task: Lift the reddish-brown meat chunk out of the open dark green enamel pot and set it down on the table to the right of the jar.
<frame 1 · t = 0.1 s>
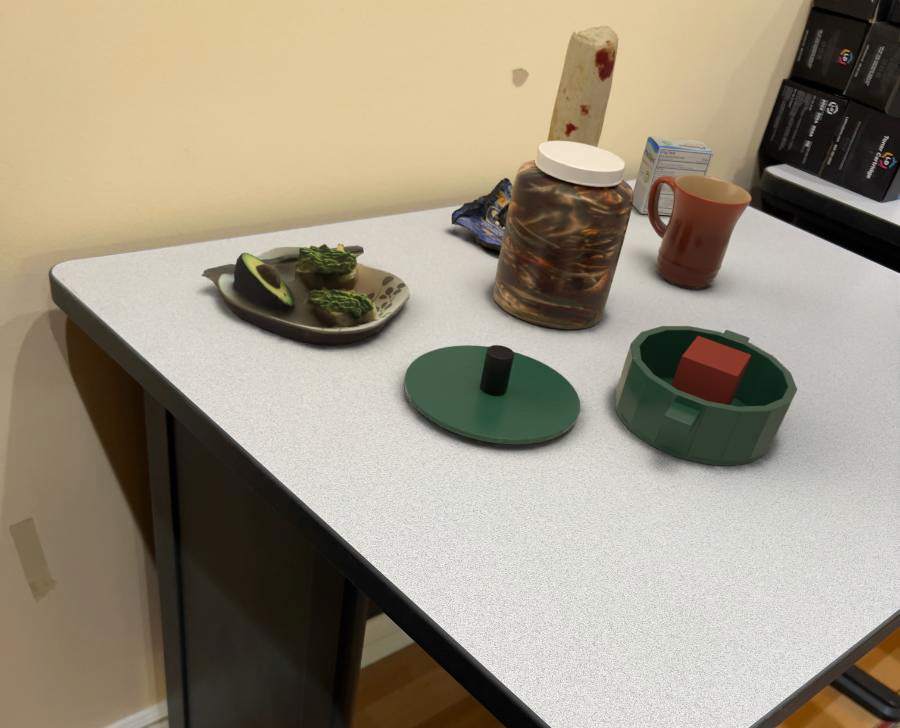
mug: (672, 274, 107), on the table
medicine box: (660, 211, 122), on the table
pot lid: (492, 394, 78), point 1 cm above the table
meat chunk: (694, 414, 81), resting on pot
jar: (547, 306, 95), on the table
plate of avocado toast: (310, 304, 87), on the table
food model: (559, 199, 120), on the table
pot: (692, 419, 81), on the table
snack package: (499, 237, 107), on the table
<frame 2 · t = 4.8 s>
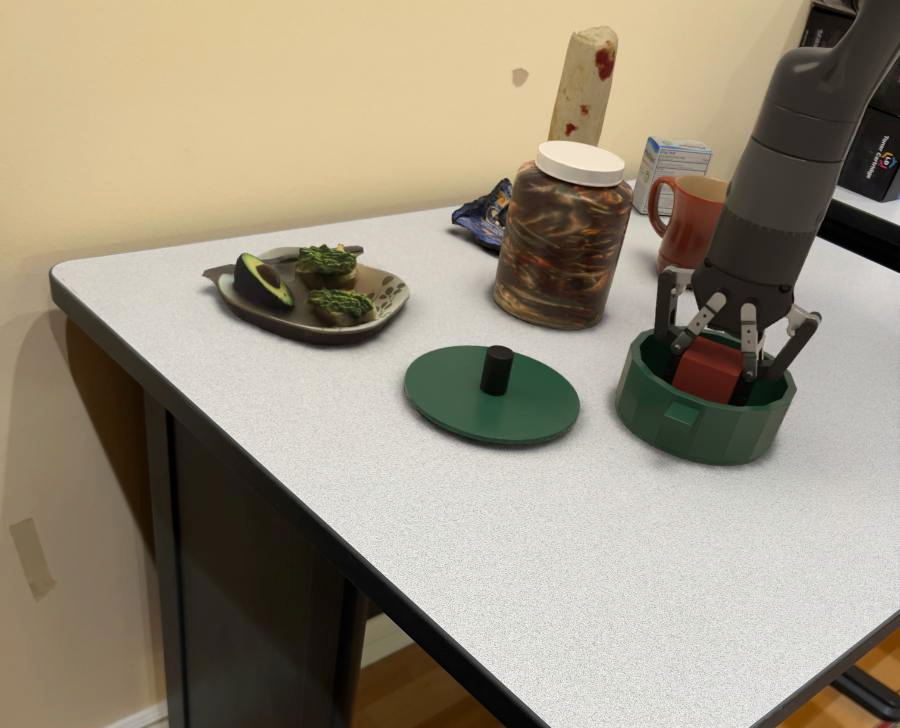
hand: (699, 399, 80), 2 cm above the table, tool pointing down, fingers closed on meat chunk, 5 cm apart
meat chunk: (694, 414, 81), resting on pot, touching gripper
everything else where it was.
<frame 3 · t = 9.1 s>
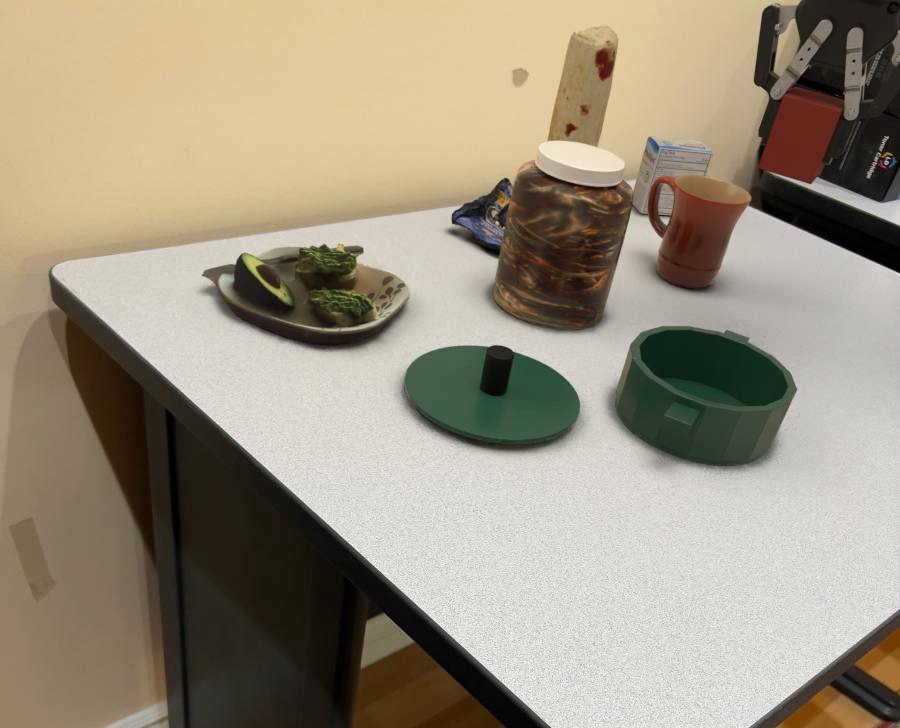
hand: (796, 152, 81), 19 cm above the table, tool pointing down, fingers closed on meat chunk, 5 cm apart
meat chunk: (789, 170, 82), point 18 cm above the table, touching gripper
everything else where it was.
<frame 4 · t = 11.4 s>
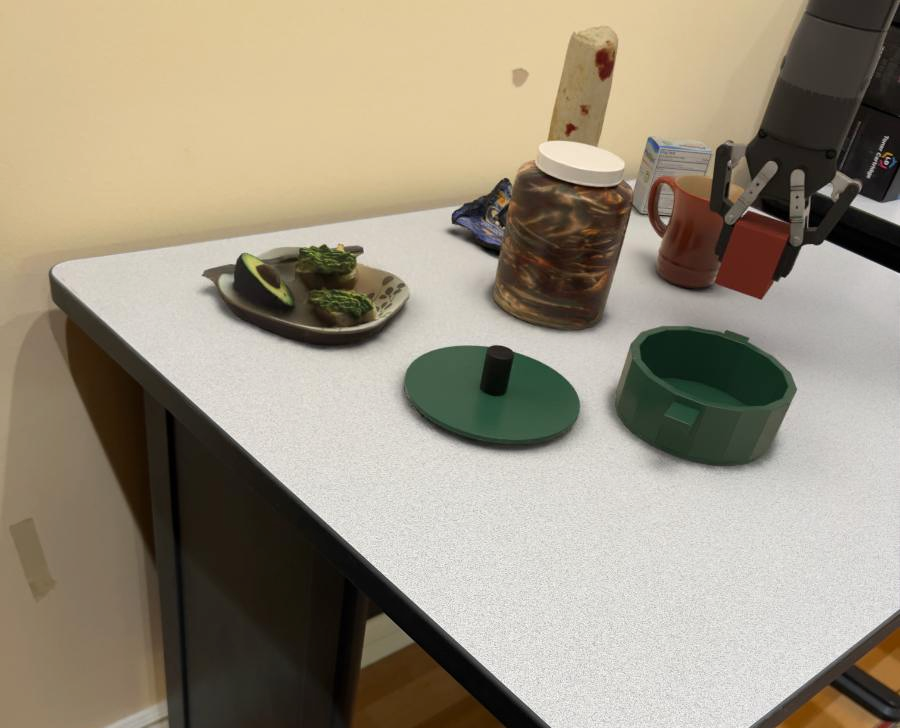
hand: (749, 269, 89), 8 cm above the table, tool pointing down, fingers closed on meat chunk, 5 cm apart
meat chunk: (743, 284, 90), point 6 cm above the table, touching gripper
everything else where it was.
when the fingers open (2 cm above the table, at t = 13.3 s): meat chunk stays where it is, on the table.
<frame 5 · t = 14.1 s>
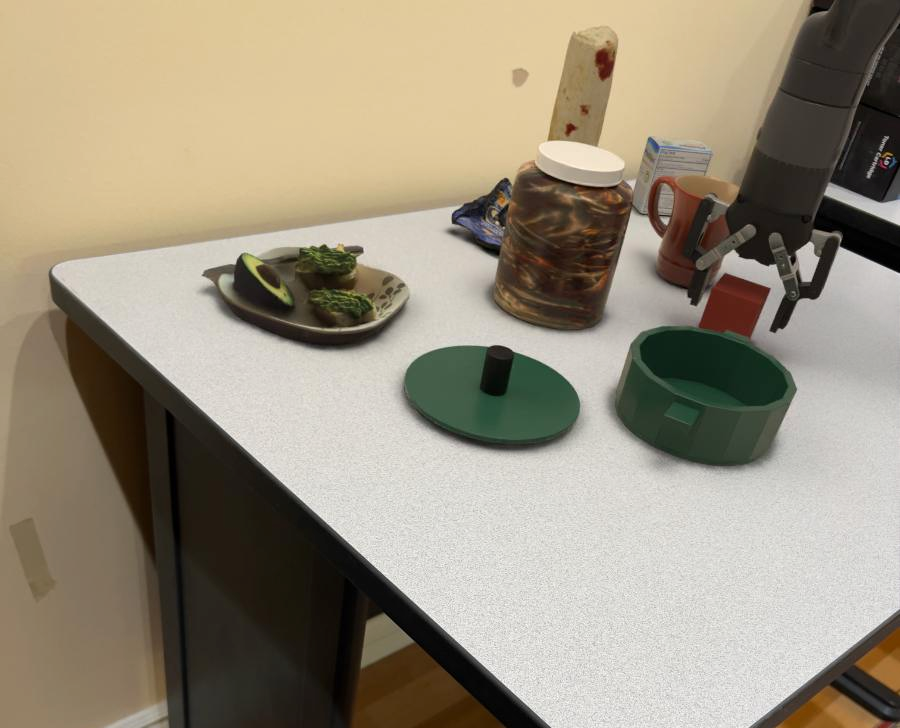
hand: (733, 316, 92), 3 cm above the table, tool pointing down, fingers open, 8 cm apart
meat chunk: (721, 341, 94), on the table
everything else where it was.
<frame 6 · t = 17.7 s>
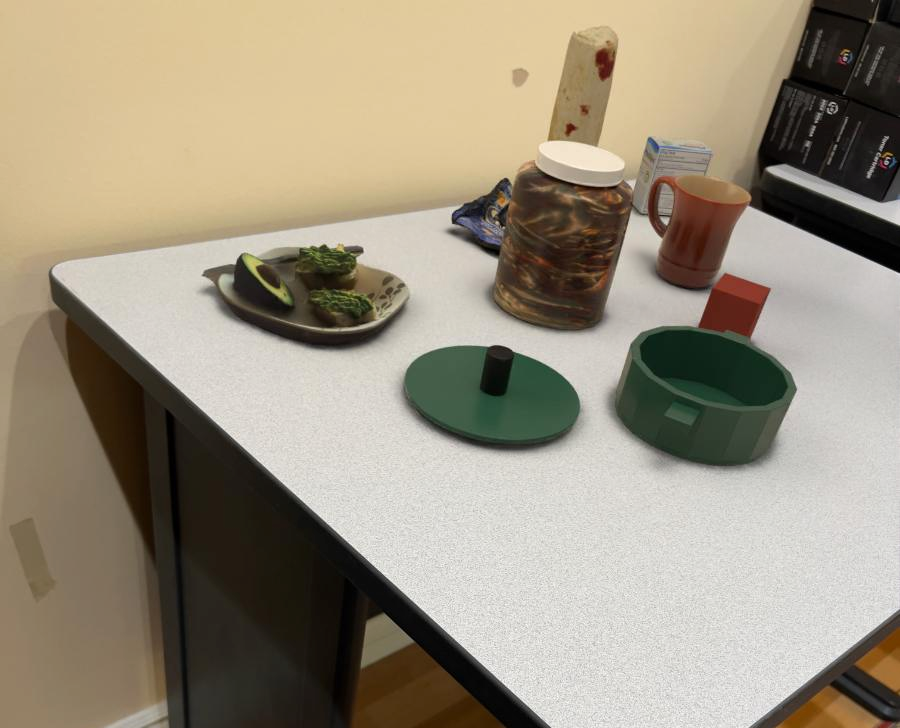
nothing on the table moved.
at the end: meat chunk inside the target area (0.1 cm from its centre), on the table; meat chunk tilted 0°; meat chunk touching table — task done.
